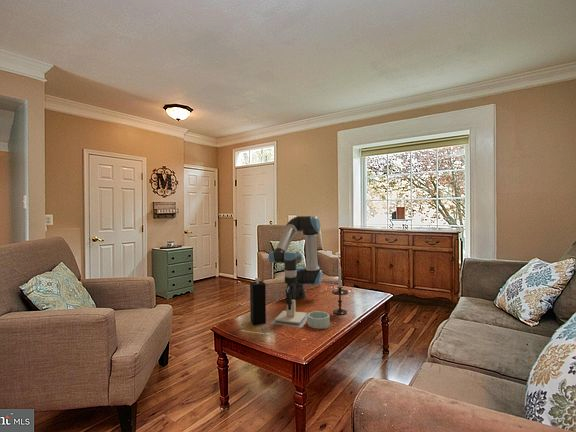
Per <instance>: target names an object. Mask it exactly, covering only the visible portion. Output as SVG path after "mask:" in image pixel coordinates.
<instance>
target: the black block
mask: <svg viewBox="0 0 576 432" xmlns="http://www.w3.org/2000/svg"><path fill="white" fill-rule="evenodd" d="M260 279H261V277H256V278H254V280H255V281H251V282H249V295H250V296H249V297H250V303H249V304H250V305H249V306H250V307H249V308H250V311H249V312H250V322H251V324H252V326H259V325H265V324H267V309H266V306H267V304H266V303H267V302H266V287H267V285H266V283H265V282H264V281H263V280H261V281H260Z"/></svg>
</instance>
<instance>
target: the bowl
mask: <svg viewBox="0 0 576 432" xmlns="http://www.w3.org/2000/svg"><path fill="white" fill-rule="evenodd" d="M330 317H331V315H330V314H329V313H328V312H325V311H322V310H321V311H320V310H316V311H309V312H307V321H306V322H307V323H306V325H308V327H310V328H312V329H325V330H326V329H328V328H329V327H330V326H331V324H330V323H331V320H330V319H331V318H330Z"/></svg>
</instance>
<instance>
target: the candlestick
mask: <svg viewBox="0 0 576 432" xmlns="http://www.w3.org/2000/svg"><path fill="white" fill-rule="evenodd" d="M337 272H338V273H337V274H338V277H337V278H338V279H337V280H338V282H337V283H338V286H336V289H332V290H331V293H332V294H331V295H336V296H338V300H337V302H338V305H337V306H338V308H336V309H333V310H332V312H333V314H335V315H337V316H344V315H346V314H348V311H347V310H346V309H344V308H342V303H343V300H342V296H347V295H348V294H349V290H347V289H345V288H344V287H343V286H342V267H341V261H339V262H338V268H337Z"/></svg>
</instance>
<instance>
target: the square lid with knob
mask: <svg viewBox="0 0 576 432" xmlns="http://www.w3.org/2000/svg"><path fill="white" fill-rule="evenodd" d="M296 303H297V302H296V299H295V300H292V315H288V304H286V308H285V309H286V310H282V311H281V312H280V313H279V314H278V315H277V316H276V317H275V318H274V319H275V321H282V322H291V323H299V324H300V323H301V321H302V320H303V319H304V317H305V316H306V315H308V312H302V311H301V312H300V311H297V310H296V308H297V307H296Z"/></svg>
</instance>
